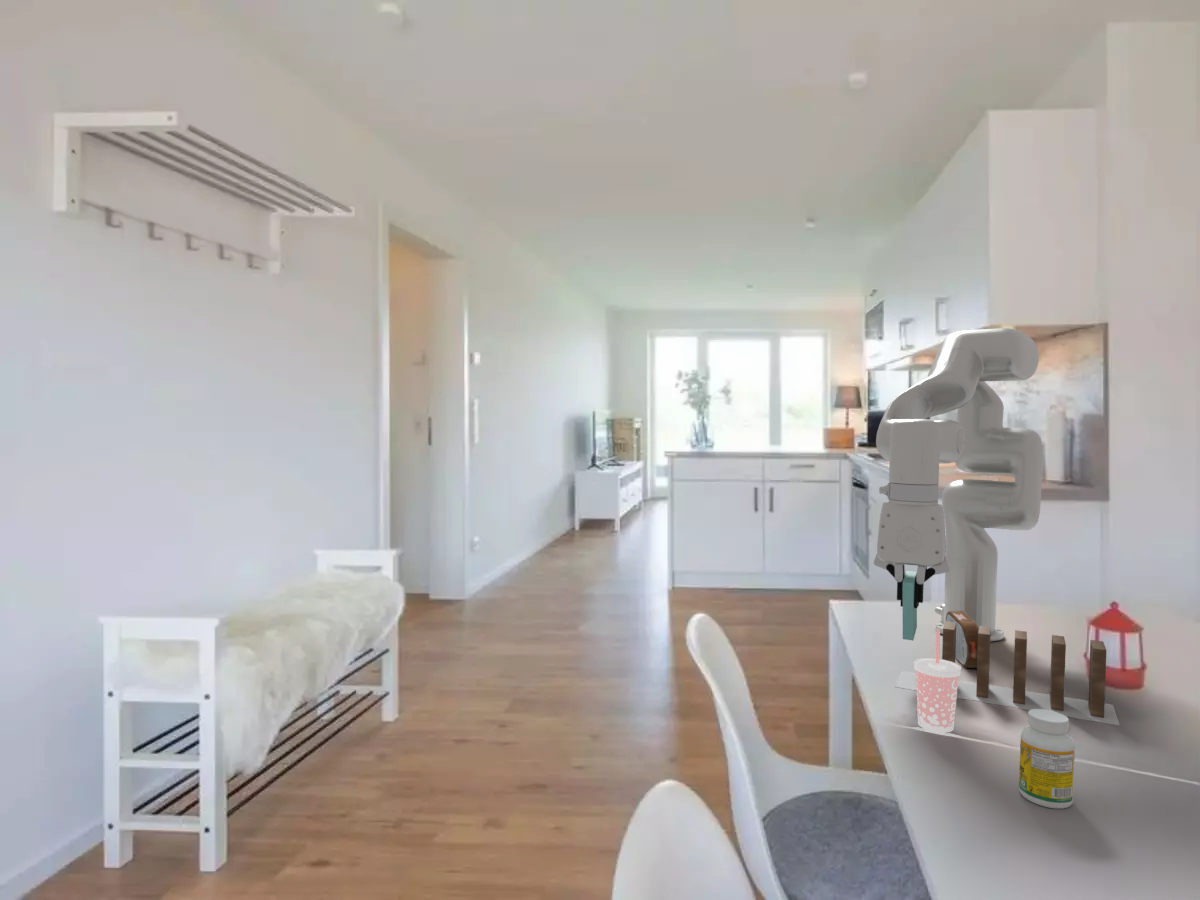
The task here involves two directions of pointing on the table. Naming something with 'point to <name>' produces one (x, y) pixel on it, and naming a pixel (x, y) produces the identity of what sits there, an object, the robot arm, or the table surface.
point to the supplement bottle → (1047, 760)
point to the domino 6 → (1097, 678)
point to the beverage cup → (936, 692)
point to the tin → (965, 638)
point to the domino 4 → (1020, 667)
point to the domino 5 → (1057, 672)
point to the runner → (1005, 698)
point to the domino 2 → (949, 642)
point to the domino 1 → (909, 606)
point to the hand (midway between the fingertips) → (909, 605)
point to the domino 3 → (983, 661)
